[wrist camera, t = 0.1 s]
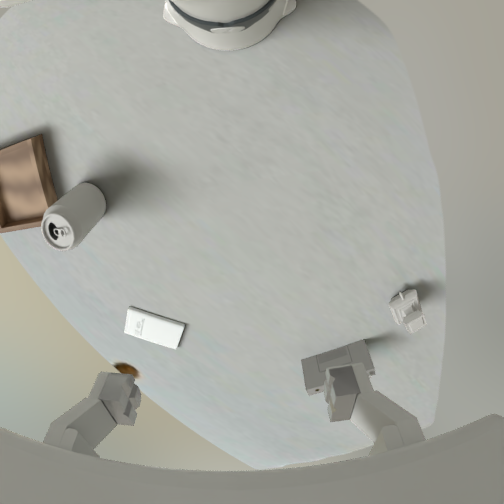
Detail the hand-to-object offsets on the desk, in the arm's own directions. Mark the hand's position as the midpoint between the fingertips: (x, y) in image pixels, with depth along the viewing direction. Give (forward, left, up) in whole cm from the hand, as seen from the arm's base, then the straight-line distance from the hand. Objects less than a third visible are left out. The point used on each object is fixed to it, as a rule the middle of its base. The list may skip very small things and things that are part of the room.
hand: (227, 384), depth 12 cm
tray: (-1, -42, -39) cm, 57 cm away
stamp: (+32, +32, -39) cm, 60 cm away
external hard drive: (+35, -22, -40) cm, 57 cm away
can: (+5, -27, -39) cm, 48 cm away
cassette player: (+47, +18, -39) cm, 64 cm away
